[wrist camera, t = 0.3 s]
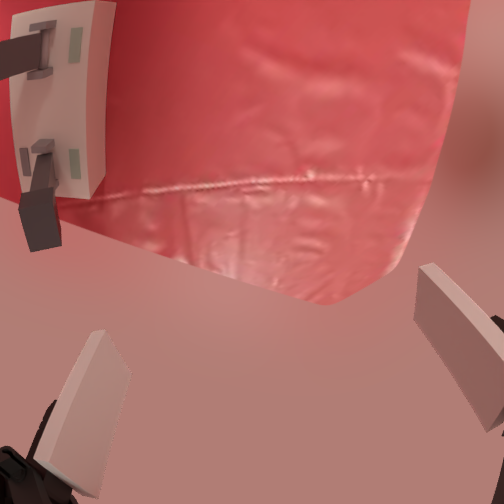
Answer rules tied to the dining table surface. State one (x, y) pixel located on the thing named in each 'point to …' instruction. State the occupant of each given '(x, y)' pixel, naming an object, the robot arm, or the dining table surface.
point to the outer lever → (41, 207)
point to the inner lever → (19, 55)
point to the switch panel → (64, 95)
